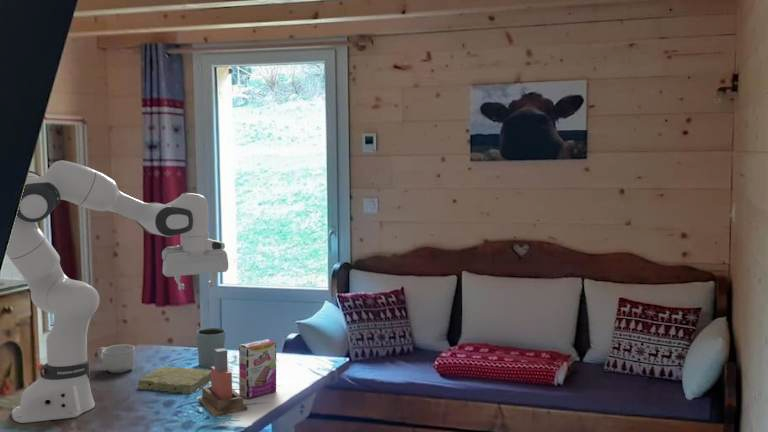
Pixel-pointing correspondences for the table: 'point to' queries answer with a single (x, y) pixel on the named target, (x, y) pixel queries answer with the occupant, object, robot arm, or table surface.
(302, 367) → the table surface
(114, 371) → the teacup
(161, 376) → the decorative tile
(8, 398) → the table surface
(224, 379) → the pink and grey block
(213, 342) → the grey cup
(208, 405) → the brown wooden tray
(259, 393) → the candy bar box
